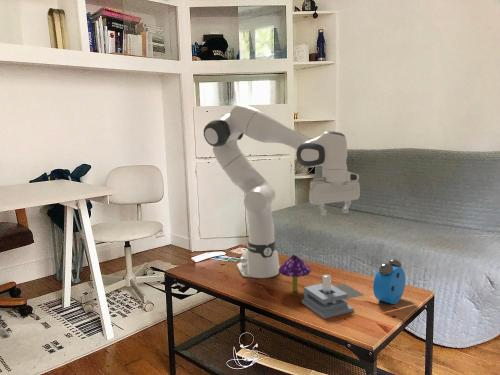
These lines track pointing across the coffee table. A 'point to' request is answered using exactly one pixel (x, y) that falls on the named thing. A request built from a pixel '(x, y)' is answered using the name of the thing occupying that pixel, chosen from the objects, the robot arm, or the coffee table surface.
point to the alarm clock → (389, 282)
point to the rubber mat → (349, 291)
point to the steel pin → (326, 284)
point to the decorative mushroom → (294, 269)
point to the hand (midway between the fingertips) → (334, 213)
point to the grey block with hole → (326, 301)
